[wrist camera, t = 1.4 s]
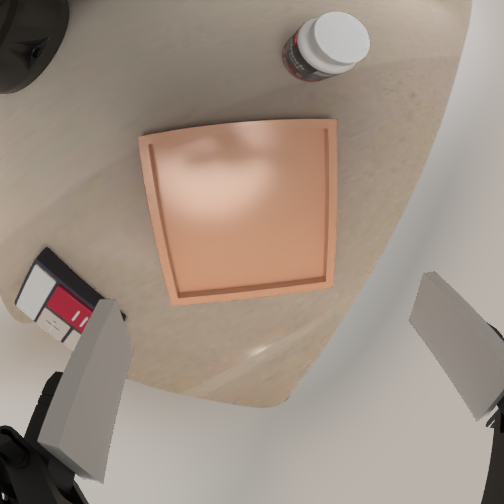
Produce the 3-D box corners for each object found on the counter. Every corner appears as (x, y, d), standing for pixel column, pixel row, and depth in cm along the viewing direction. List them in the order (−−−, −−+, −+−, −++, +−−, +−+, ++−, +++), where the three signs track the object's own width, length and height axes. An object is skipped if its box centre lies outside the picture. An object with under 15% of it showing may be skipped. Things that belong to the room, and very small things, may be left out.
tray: (142, 135, 27) (137, 136, 25) (330, 118, 28) (336, 119, 26) (173, 296, 36) (171, 305, 34) (328, 279, 37) (332, 287, 35)
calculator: (88, 365, 36) (11, 307, 30) (94, 345, 40) (23, 290, 34) (122, 332, 34) (32, 261, 27) (128, 311, 38) (47, 245, 31)
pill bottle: (276, 37, 24) (299, 4, 15) (327, 34, 24) (367, 6, 15) (287, 85, 26) (316, 70, 17) (337, 80, 26) (382, 69, 17)
